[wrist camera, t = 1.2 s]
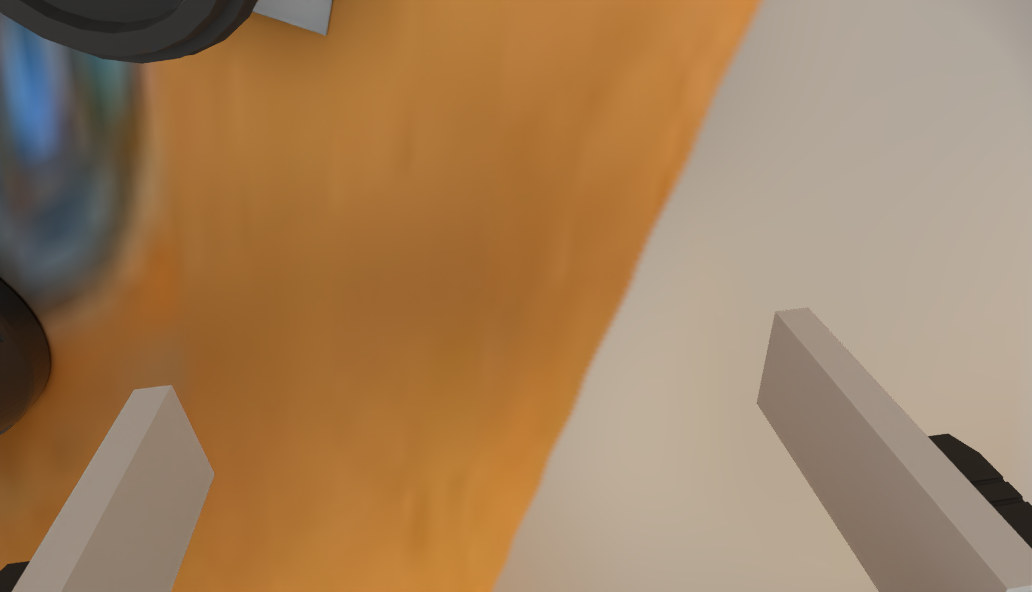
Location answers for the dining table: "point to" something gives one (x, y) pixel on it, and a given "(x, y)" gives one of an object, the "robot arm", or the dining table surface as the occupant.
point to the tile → (298, 12)
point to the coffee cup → (131, 25)
